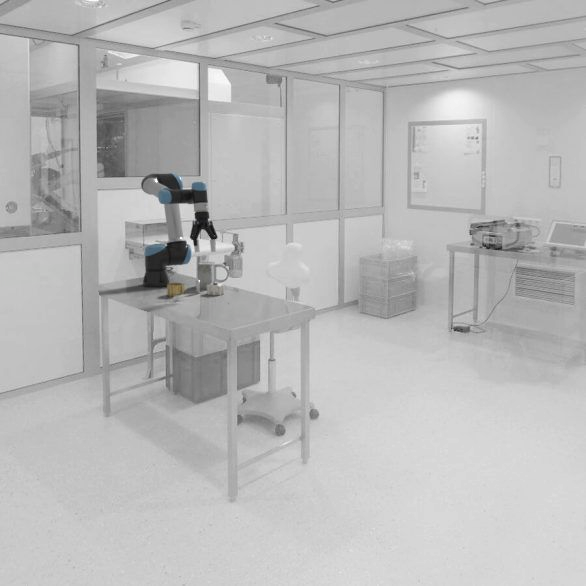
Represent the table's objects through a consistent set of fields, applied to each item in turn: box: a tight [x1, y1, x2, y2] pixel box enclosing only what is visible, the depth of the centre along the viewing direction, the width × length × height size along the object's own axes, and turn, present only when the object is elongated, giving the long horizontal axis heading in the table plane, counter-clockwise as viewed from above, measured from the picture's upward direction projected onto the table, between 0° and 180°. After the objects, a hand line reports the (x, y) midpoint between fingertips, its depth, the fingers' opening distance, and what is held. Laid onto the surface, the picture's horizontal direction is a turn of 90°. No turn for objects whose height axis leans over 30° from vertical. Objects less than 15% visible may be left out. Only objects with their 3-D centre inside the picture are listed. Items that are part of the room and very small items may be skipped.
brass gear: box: [166, 282, 186, 297], centre depth 351 cm, size 9×9×6 cm
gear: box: [206, 282, 225, 296], centre depth 349 cm, size 9×9×6 cm
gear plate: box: [195, 280, 201, 295], centre depth 350 cm, size 9×18×8 cm, turn 85°
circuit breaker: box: [197, 261, 217, 290], centre depth 368 cm, size 8×14×15 cm, turn 174°
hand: (205, 252), depth 346 cm, fingers open, 13 cm apart
